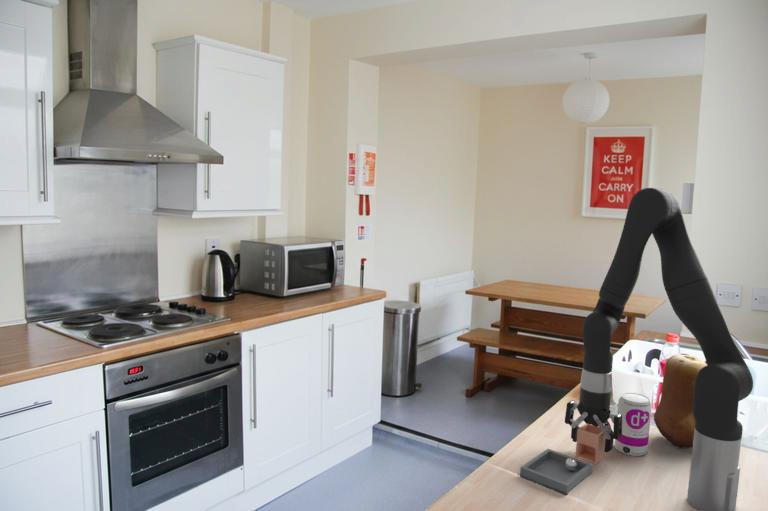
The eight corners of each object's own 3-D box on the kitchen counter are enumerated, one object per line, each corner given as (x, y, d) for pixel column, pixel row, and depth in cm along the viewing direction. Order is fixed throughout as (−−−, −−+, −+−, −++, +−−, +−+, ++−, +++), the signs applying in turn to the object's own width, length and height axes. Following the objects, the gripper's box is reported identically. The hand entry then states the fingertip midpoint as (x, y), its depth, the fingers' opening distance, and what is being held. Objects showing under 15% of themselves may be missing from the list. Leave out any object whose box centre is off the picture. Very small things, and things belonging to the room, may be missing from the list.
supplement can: (650, 459, 158) (655, 404, 156) (616, 455, 160) (621, 401, 157) (643, 445, 166) (648, 393, 164) (611, 442, 167) (616, 390, 165)
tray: (591, 474, 149) (592, 464, 149) (566, 495, 139) (567, 485, 139) (547, 457, 157) (547, 448, 157) (519, 476, 147) (520, 467, 147)
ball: (581, 470, 149) (578, 458, 149) (570, 474, 148) (567, 462, 148) (574, 467, 151) (571, 455, 152) (564, 470, 151) (561, 459, 151)
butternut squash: (717, 450, 164) (727, 361, 161) (683, 459, 159) (693, 367, 155) (674, 430, 177) (682, 347, 173) (640, 437, 171) (648, 352, 167)
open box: (605, 458, 158) (607, 429, 157) (596, 465, 154) (598, 435, 153) (584, 451, 162) (586, 422, 161) (575, 458, 158) (577, 429, 157)
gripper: (629, 390, 153) (624, 450, 155) (575, 376, 163) (571, 433, 165) (617, 397, 148) (612, 460, 150) (563, 382, 157) (558, 442, 159)
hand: (591, 446), depth 157 cm, fingers open, 8 cm apart
